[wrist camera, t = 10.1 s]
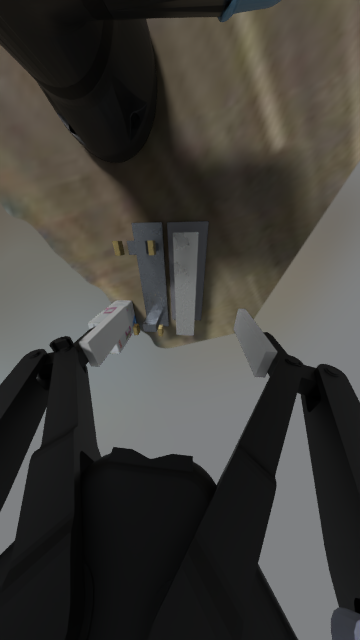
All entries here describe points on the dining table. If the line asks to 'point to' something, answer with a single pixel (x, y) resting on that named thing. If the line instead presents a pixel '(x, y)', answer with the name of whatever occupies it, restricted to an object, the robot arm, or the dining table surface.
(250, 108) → the dining table surface
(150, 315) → the stand
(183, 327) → the rail
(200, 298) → the mat
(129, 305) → the ink box
